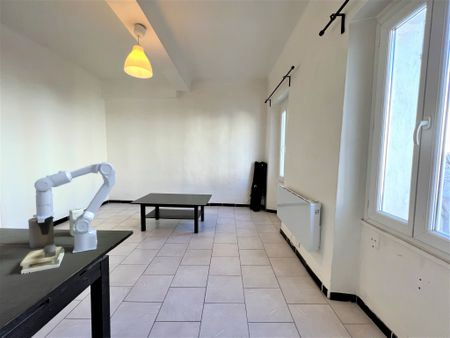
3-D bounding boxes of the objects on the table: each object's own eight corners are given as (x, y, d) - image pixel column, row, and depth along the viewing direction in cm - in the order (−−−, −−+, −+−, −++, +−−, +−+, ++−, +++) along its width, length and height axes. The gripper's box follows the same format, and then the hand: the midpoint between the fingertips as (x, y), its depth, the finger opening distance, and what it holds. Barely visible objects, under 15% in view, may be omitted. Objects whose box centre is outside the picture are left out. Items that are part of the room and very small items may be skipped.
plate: (62, 248, 98) (62, 237, 98) (57, 259, 88) (57, 247, 88) (30, 253, 93) (29, 242, 93) (20, 266, 82) (19, 253, 82)
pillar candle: (59, 241, 114) (57, 213, 114) (41, 248, 105) (40, 218, 104) (42, 240, 115) (41, 213, 115) (23, 248, 106) (22, 218, 105)
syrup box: (81, 231, 129) (80, 207, 128) (84, 234, 125) (83, 209, 124) (69, 234, 124) (68, 209, 124) (72, 236, 121) (72, 211, 120)
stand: (64, 254, 99) (64, 248, 99) (58, 266, 88) (58, 260, 88) (31, 259, 94) (31, 253, 93) (21, 274, 82) (21, 267, 82)
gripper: (37, 202, 101) (38, 230, 101) (27, 208, 88) (28, 241, 89) (56, 200, 104) (57, 228, 105) (49, 207, 91) (50, 238, 92)
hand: (45, 234), depth 97 cm, fingers closed
